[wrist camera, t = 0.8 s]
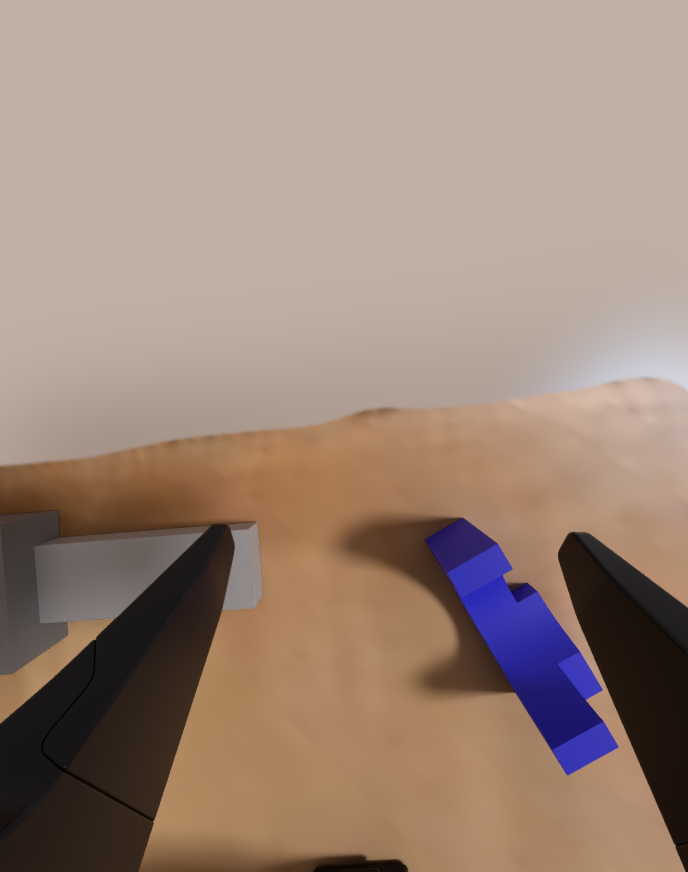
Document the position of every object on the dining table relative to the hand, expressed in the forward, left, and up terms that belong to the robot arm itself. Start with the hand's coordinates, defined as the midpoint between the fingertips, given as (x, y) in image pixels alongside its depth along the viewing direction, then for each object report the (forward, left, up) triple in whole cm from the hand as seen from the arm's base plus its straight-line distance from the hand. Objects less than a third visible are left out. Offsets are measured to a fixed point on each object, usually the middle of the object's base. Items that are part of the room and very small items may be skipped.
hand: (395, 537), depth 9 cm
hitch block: (-5, +19, -15) cm, 25 cm away
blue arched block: (-9, -8, -15) cm, 19 cm away
